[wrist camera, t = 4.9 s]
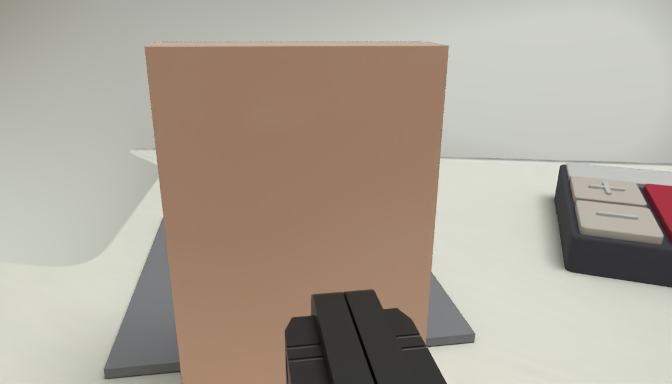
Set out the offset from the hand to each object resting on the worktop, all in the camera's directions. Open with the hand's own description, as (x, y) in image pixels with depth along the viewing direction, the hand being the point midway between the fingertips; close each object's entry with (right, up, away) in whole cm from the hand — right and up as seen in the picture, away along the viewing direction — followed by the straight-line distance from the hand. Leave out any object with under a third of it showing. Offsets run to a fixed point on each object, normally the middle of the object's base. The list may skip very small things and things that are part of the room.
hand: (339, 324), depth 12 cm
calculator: (+23, -1, +27) cm, 35 cm away
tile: (-2, -6, +11) cm, 12 cm away
